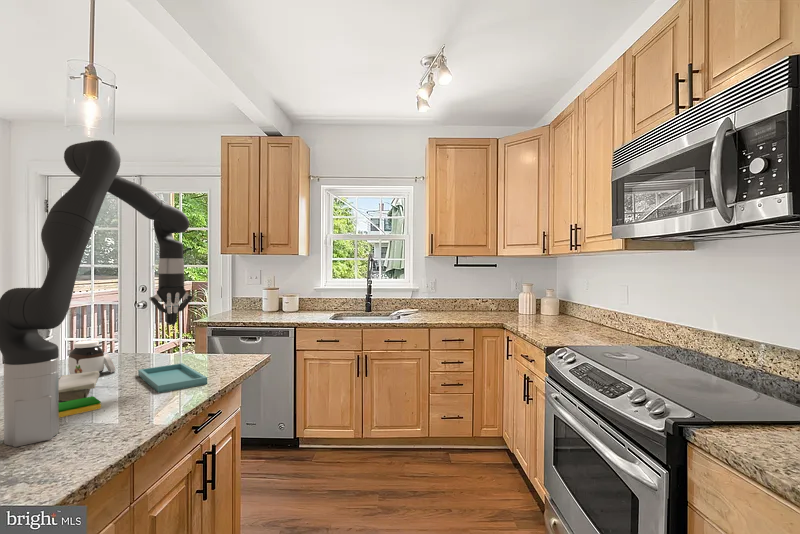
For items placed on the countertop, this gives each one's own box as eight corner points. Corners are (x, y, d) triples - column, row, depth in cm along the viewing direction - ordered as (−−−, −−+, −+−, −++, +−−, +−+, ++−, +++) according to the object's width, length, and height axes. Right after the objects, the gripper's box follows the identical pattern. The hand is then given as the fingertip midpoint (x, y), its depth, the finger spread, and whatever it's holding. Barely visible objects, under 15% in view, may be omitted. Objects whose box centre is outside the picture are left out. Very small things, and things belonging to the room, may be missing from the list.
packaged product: (100, 384, 135) (60, 390, 130) (100, 369, 135) (60, 374, 130) (95, 399, 119) (50, 407, 114) (94, 382, 119) (49, 389, 114)
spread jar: (64, 377, 143) (64, 343, 143) (96, 369, 154) (96, 337, 154) (90, 380, 140) (90, 345, 139) (122, 372, 150) (122, 339, 150)
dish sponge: (101, 410, 113) (101, 401, 113) (33, 425, 102) (33, 415, 102) (93, 404, 117) (93, 395, 117) (27, 418, 107) (27, 408, 107)
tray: (207, 384, 136) (207, 377, 136) (158, 393, 126) (158, 385, 126) (182, 369, 155) (182, 363, 155) (138, 376, 145) (138, 369, 145)
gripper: (151, 272, 133) (151, 327, 133) (196, 272, 142) (196, 323, 142) (145, 272, 138) (145, 325, 139) (189, 271, 148) (189, 321, 148)
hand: (171, 324), depth 140 cm, fingers closed
